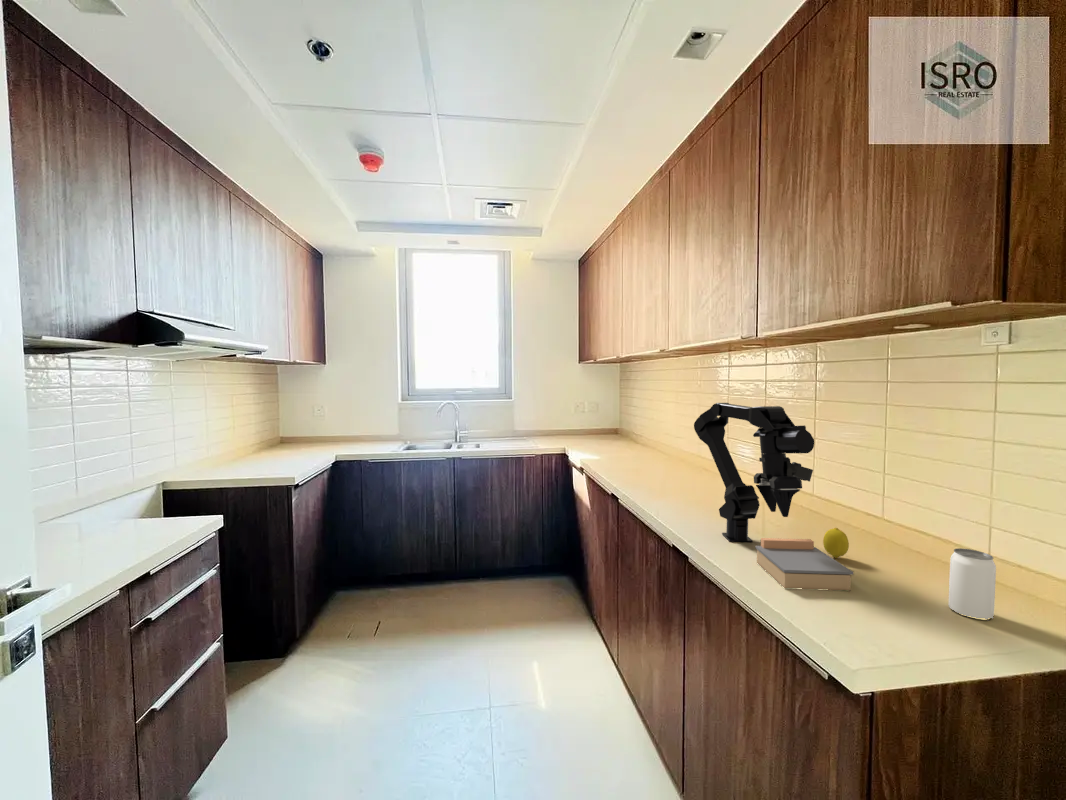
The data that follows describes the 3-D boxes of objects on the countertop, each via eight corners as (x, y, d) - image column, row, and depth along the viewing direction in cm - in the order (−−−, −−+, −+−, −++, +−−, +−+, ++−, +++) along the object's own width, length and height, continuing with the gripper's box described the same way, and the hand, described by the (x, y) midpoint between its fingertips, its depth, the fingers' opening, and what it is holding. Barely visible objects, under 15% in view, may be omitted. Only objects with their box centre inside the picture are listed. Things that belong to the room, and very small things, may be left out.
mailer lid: (755, 547, 113) (755, 537, 113) (815, 549, 112) (815, 539, 112) (784, 572, 99) (784, 560, 99) (853, 574, 98) (853, 562, 98)
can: (1000, 624, 85) (1003, 562, 84) (956, 616, 88) (959, 556, 87) (983, 609, 91) (986, 550, 90) (942, 602, 94) (945, 545, 93)
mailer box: (756, 563, 113) (757, 549, 113) (814, 564, 112) (814, 551, 112) (784, 588, 99) (784, 573, 99) (850, 591, 98) (850, 575, 98)
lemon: (830, 552, 120) (831, 523, 120) (852, 559, 116) (853, 529, 115) (818, 556, 118) (819, 526, 118) (840, 563, 113) (841, 532, 113)
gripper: (822, 453, 107) (829, 519, 105) (793, 452, 125) (799, 509, 124) (772, 454, 109) (778, 520, 108) (750, 453, 128) (755, 509, 126)
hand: (779, 514), depth 116 cm, fingers open, 9 cm apart
